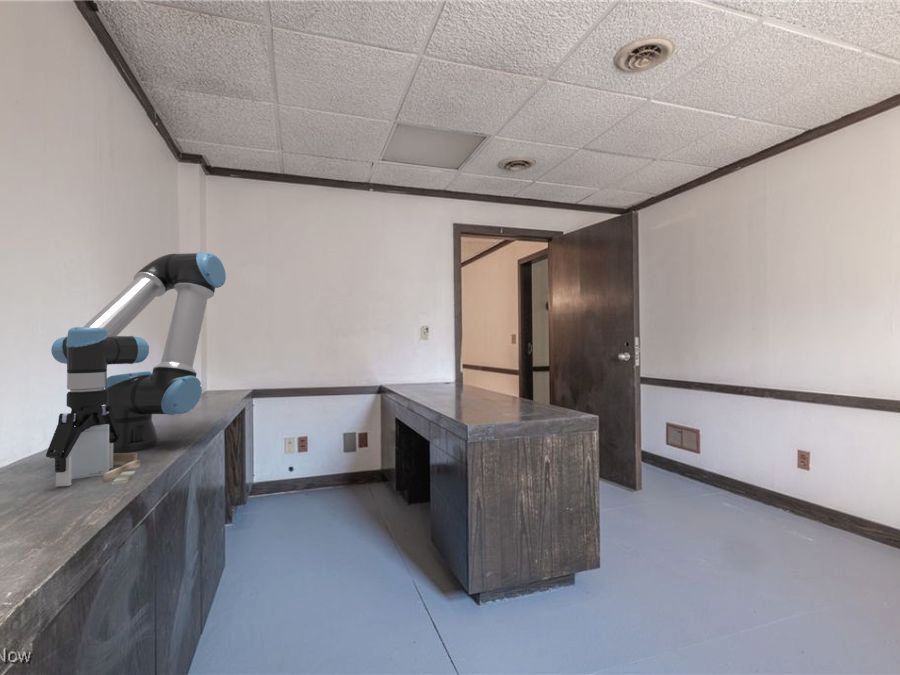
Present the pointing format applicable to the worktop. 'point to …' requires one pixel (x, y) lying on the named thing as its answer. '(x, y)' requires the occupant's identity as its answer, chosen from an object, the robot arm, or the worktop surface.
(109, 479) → the birch rack
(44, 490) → the worktop surface
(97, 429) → the hard drive
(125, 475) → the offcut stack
